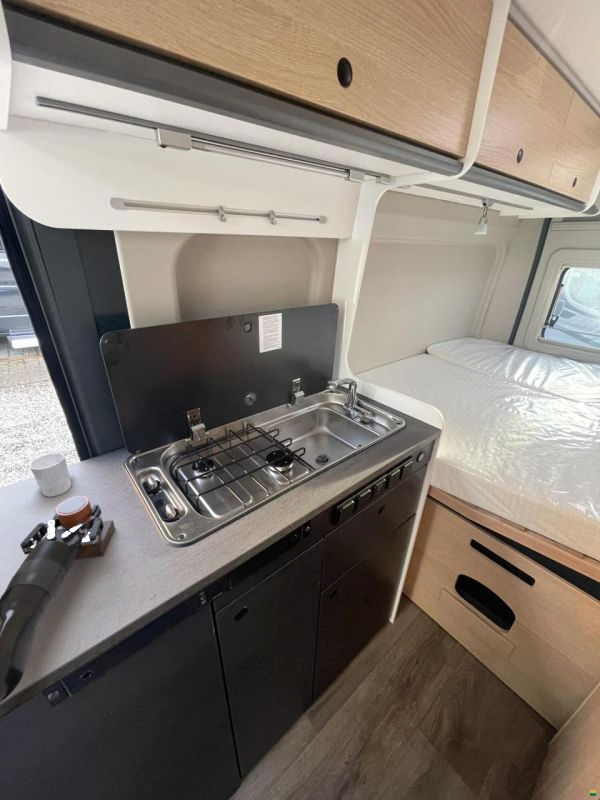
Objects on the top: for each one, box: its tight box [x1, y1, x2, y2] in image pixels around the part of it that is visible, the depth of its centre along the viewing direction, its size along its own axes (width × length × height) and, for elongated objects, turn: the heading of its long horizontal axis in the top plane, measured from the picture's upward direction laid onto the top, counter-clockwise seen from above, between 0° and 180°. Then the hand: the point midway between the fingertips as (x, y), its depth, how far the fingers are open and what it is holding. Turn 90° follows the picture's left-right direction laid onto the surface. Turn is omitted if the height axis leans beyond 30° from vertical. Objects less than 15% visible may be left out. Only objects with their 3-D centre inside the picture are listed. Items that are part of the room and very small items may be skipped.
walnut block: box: [74, 520, 116, 561], centre depth 76 cm, size 10×8×4 cm
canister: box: [55, 495, 93, 538], centre depth 73 cm, size 6×6×9 cm
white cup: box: [29, 452, 72, 498], centre depth 93 cm, size 8×8×10 cm
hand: (81, 509), depth 75 cm, fingers closed on canister, 6 cm apart
